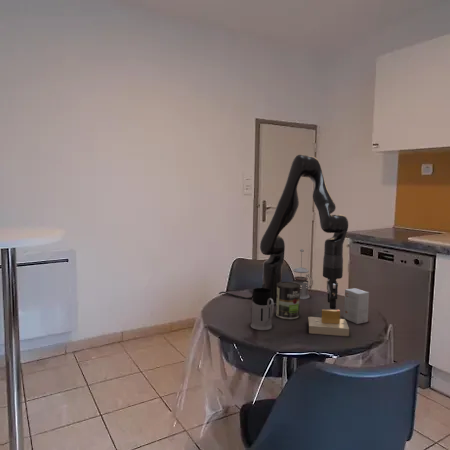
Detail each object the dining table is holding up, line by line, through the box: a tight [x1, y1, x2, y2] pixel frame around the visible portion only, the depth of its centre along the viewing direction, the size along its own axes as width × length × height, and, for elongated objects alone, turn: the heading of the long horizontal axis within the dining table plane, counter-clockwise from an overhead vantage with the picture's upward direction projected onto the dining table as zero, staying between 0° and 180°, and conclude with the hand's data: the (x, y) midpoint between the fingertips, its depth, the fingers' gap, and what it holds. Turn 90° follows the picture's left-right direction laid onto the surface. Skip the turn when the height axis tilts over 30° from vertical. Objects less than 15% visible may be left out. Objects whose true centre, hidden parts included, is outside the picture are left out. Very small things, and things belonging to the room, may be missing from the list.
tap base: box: [307, 316, 350, 337], centre depth 152 cm, size 15×11×3 cm
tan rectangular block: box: [320, 308, 341, 324], centre depth 151 cm, size 7×2×5 cm, turn 80°
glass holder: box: [250, 287, 275, 331], centre depth 152 cm, size 9×14×15 cm, turn 20°
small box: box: [343, 287, 370, 325], centre depth 163 cm, size 8×6×13 cm
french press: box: [292, 248, 314, 300], centre depth 198 cm, size 10×12×25 cm
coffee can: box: [275, 281, 301, 320], centre depth 168 cm, size 10×10×14 cm
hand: (331, 305), depth 151 cm, fingers open, 8 cm apart
